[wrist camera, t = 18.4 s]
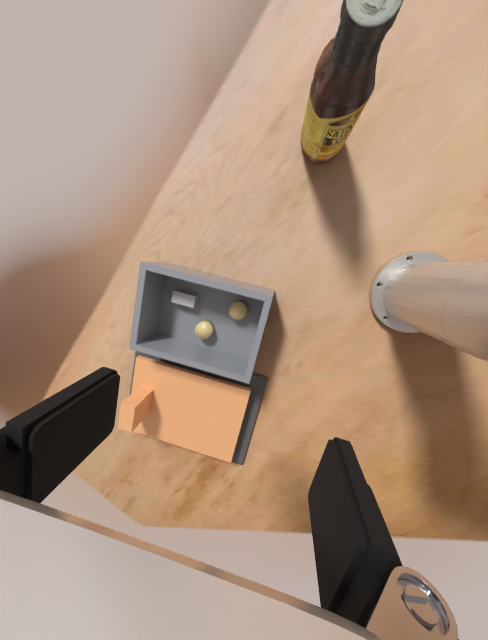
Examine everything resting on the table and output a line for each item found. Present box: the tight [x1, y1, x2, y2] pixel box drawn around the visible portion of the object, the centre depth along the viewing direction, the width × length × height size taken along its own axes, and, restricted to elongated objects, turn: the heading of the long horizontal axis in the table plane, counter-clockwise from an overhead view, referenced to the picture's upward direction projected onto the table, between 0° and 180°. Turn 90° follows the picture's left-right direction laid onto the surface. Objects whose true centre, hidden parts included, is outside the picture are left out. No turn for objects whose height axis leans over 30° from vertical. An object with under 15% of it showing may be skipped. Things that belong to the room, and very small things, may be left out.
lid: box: [118, 355, 251, 463], centre depth 44 cm, size 22×16×8 cm
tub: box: [129, 262, 275, 384], centre depth 40 cm, size 20×14×8 cm
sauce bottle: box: [301, 0, 403, 163], centre depth 26 cm, size 7×6×20 cm
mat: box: [130, 351, 268, 465], centre depth 49 cm, size 26×20×1 cm
